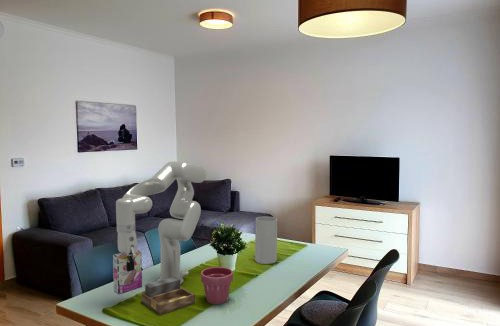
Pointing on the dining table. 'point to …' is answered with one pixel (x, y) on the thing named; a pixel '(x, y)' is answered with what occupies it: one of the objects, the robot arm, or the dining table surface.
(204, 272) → the plant pot
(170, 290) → the tray
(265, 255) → the cylinder vase
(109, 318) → the dining table surface
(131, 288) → the candy bar box
